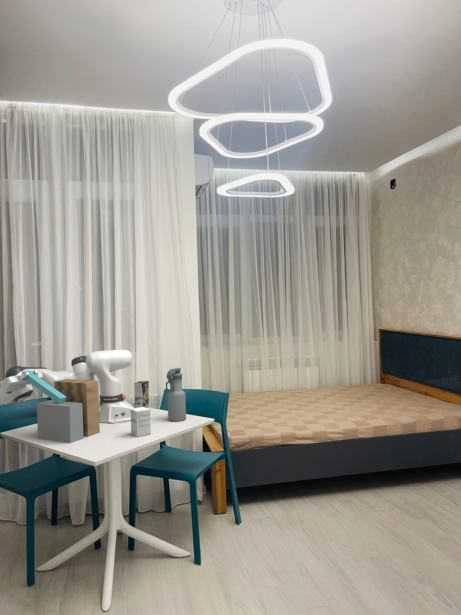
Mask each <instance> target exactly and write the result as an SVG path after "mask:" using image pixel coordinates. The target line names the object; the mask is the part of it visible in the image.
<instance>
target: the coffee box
mask: <svg viewBox="0 0 461 615" xmlns="http://www.w3.org/2000/svg"><path fill="white" fill-rule="evenodd" d="M149 383H150V382H149V380H140V381H136V382H134V383H133V387H134V388H133V389H134V393H133V394H134V408H139V407H145V408H148V407H150V388H149V387H150V384H149Z"/></svg>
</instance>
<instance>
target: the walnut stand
mask: <svg viewBox="0 0 461 615" xmlns="http://www.w3.org/2000/svg"><path fill="white" fill-rule="evenodd" d="M54 388H55V389H56V390H58V391H59V392H60V393H62V394H63V395H65V396H66V397H67V398H66V401H65V402H76V403H82V410H83V437H86V438H87V437H91V436H93V435H97V434H100V432H101V428H100V422H99V415H100V395H99V380H95V381H92V380H75V379H64V380H59V381H54Z"/></svg>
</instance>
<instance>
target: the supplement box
mask: <svg viewBox="0 0 461 615" xmlns="http://www.w3.org/2000/svg"><path fill="white" fill-rule="evenodd" d="M151 431H152V430H151V409H150V408H148V407H147V408H145V407H139V408H135V407H134V408H133V409H131V421H130V433H131V435H132V436H135V437H137V438H140V437H145V436H150V435H151V434H152V433H151Z"/></svg>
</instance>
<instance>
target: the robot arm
mask: <svg viewBox="0 0 461 615" xmlns="http://www.w3.org/2000/svg"><path fill="white" fill-rule="evenodd" d="M132 363H133V355H132V353H131V351H129V350H127V349H108V350H97V351H96V350H95V351H92V352H89V353H88V354H87V355H77V356H76V357H74V358H73V359H72V360H71V367H72V371H71V370H58V371H55V370H51V369H49V368H48V367H43V366H41V367H40V366H39V367H37V366H36V367H35V366H21V365H14V366H12V367H9V368H8V369H7V370H6V372H5V375H4V377H5V378H4V379H3V380H0V405H6V404H8V403H9V402H12V401H14V402H22V401H25V400H27V399H28V398H30V397H31V396H32V394H33V393H34V388H33V385H32V384H30V383H29V382H28V381H26V380H25V379H24V378H25V377H27V376H28V375H29V372H25V373H24V374H22V372H23V371H28V370H30V371H31V372H32V373H34V374H35V375H37V376H38V377H39V378H41V379H42V380H44V381H45V382H46V383H48V384H49V385H51V386H52V387H53V388H54V381H59V380H64V379H75V380H92V381H96V379H95V376H96V377H97V380H98V384H99V390H100V392H99V393H100V395H99V423H104V424H105V423H107V424H117V423H123V422H129V421H130V422H131V409H133V408H135V406H134V405H132V404H131V403H130V402H128V401H127V400H126V398H127V396H126V395H125V394H123V393H122V392H121V390H122V388H121V380H120V378H119V377H117V376H115V375H112V374H111V373H112V372H115V371H116V372H117V371H119V370H122V369H125V368H129V367H131V365H132Z"/></svg>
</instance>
